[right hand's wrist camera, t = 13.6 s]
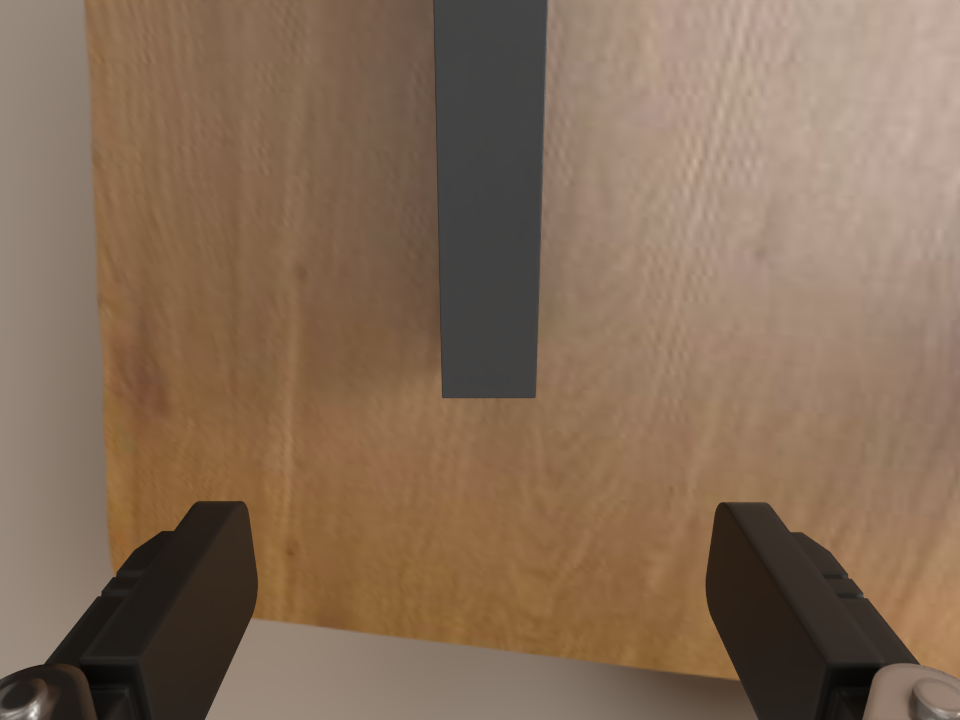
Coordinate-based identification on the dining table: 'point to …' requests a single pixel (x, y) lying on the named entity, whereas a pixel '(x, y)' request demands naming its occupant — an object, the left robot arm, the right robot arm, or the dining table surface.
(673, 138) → the dining table surface
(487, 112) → the bar
